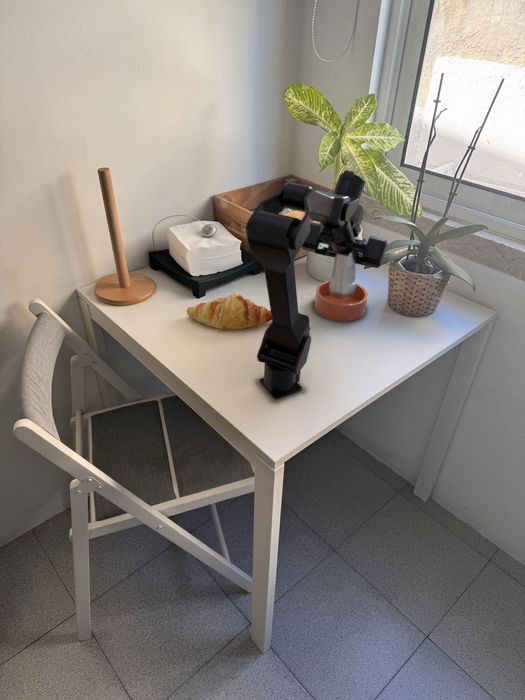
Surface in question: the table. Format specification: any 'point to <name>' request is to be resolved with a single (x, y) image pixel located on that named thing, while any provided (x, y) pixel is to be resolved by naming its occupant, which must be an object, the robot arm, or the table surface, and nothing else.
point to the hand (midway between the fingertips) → (348, 258)
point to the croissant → (230, 313)
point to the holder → (340, 303)
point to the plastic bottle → (344, 275)
